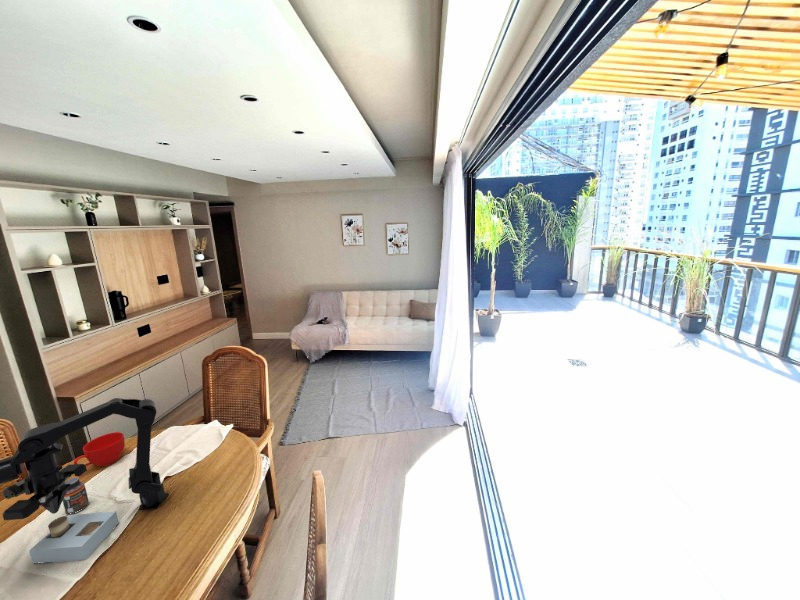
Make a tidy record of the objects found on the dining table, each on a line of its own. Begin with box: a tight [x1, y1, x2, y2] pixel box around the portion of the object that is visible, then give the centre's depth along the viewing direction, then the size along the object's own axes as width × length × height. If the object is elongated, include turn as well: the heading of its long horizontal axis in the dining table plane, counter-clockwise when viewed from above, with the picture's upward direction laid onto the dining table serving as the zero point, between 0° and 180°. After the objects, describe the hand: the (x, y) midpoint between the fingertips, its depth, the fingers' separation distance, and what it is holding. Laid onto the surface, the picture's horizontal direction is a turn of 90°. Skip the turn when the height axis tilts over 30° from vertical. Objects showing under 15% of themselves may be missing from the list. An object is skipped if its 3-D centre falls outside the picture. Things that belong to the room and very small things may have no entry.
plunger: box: [47, 515, 70, 538], centre depth 96 cm, size 4×4×4 cm
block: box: [28, 510, 120, 564], centre depth 97 cm, size 15×12×5 cm
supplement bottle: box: [62, 476, 90, 515], centre depth 109 cm, size 6×6×11 cm
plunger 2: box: [81, 522, 99, 536], centre depth 97 cm, size 4×4×4 cm
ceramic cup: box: [73, 431, 126, 467], centre depth 131 cm, size 13×17×10 cm
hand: (55, 512), depth 94 cm, fingers closed
